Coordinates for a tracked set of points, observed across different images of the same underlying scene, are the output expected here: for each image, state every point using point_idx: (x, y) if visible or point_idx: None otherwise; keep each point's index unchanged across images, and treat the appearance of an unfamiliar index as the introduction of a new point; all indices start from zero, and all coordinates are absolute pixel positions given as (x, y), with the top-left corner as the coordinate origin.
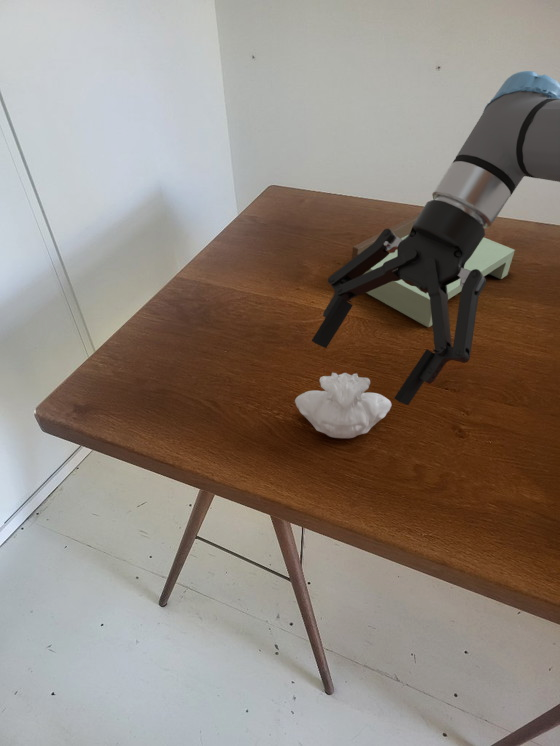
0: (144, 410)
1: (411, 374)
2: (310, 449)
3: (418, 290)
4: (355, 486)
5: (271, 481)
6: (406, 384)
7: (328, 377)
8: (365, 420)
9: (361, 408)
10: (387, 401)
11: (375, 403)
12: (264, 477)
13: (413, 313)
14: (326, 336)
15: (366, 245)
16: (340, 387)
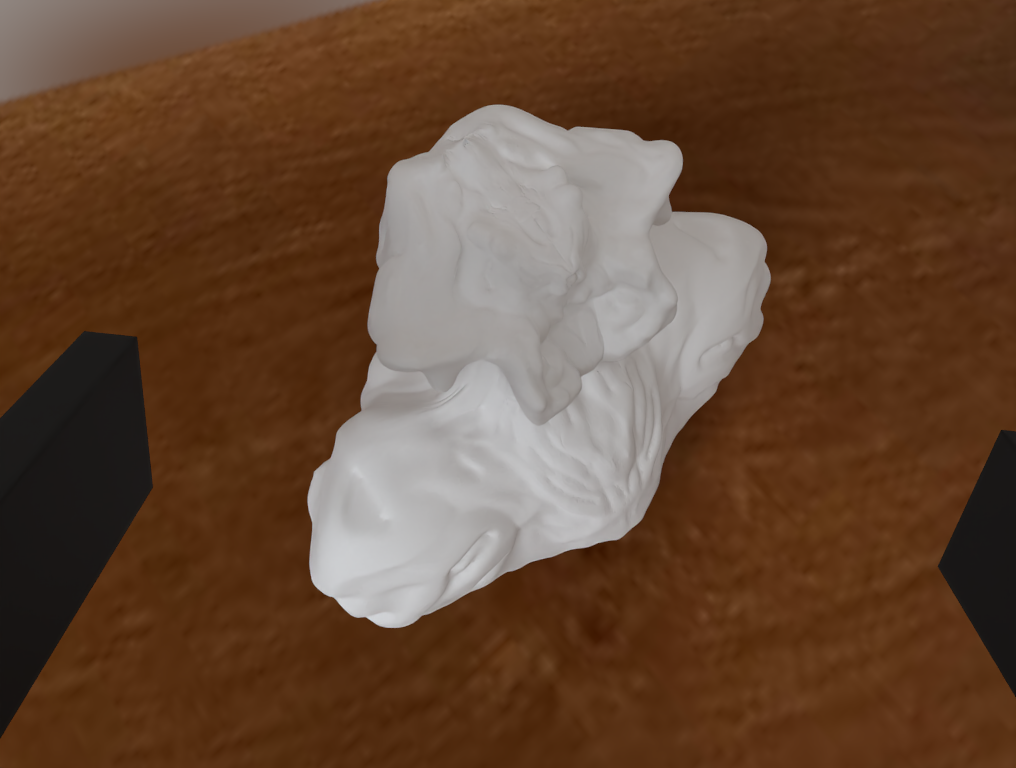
0: None
1: (9, 464)
2: None
3: None
4: (256, 204)
5: (542, 14)
6: (45, 405)
7: (645, 197)
8: (368, 382)
9: (409, 376)
10: (327, 551)
11: (361, 456)
12: (577, 11)
13: None
14: (1012, 559)
15: None
16: (490, 125)
